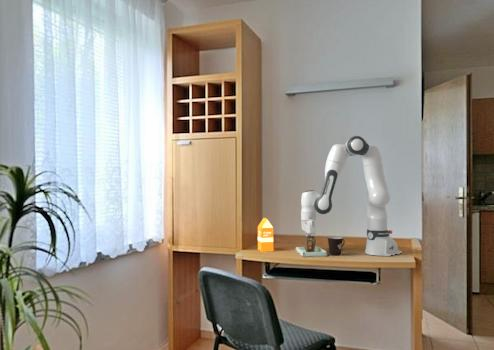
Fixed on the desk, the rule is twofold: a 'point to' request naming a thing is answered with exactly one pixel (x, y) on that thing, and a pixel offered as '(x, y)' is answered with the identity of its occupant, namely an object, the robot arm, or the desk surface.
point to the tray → (317, 253)
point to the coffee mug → (335, 245)
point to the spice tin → (310, 245)
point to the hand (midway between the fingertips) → (308, 239)
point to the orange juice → (265, 236)
